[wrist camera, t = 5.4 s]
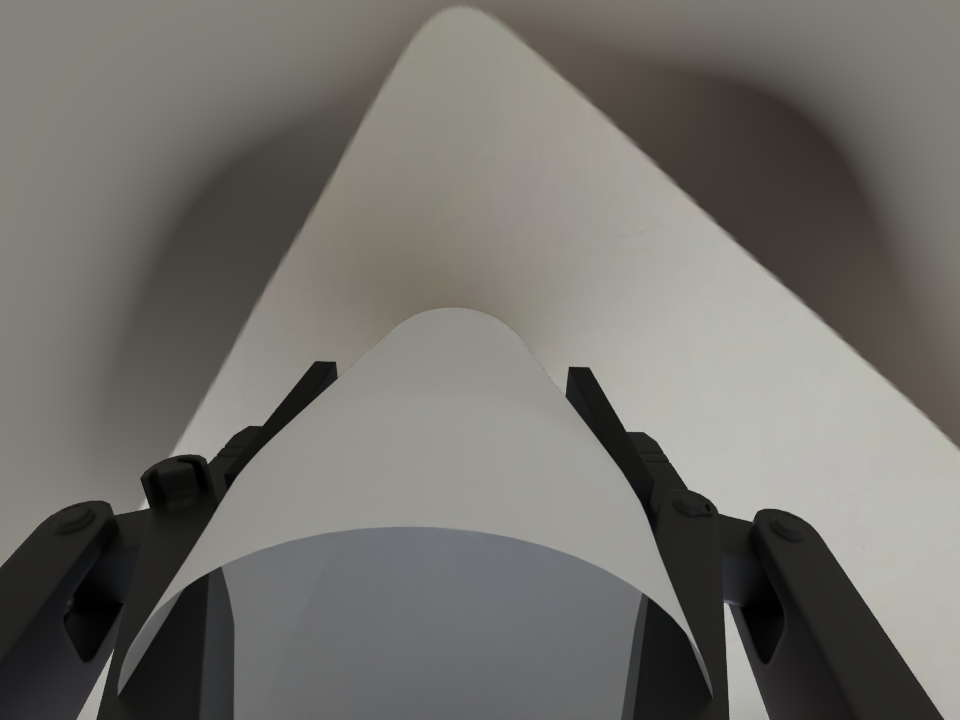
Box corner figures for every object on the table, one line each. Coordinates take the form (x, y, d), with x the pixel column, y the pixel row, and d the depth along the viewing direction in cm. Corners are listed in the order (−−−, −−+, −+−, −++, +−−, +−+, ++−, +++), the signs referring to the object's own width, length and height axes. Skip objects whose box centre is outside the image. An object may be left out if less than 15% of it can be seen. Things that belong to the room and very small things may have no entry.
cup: (607, 411, 18) (811, 782, 7) (430, 510, 20) (380, 921, 9) (484, 222, 15) (512, 366, 4) (290, 360, 17) (-38, 706, 6)
